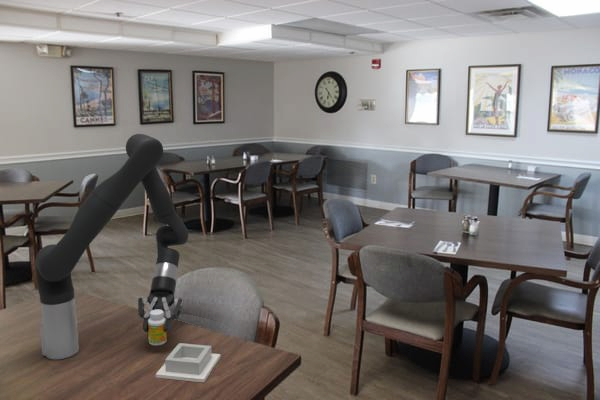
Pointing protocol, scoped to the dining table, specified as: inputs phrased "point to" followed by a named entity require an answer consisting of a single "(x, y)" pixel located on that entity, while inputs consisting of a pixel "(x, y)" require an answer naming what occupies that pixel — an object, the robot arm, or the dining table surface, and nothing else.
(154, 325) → the supplement bottle
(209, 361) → the socket block
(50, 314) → the robot arm
